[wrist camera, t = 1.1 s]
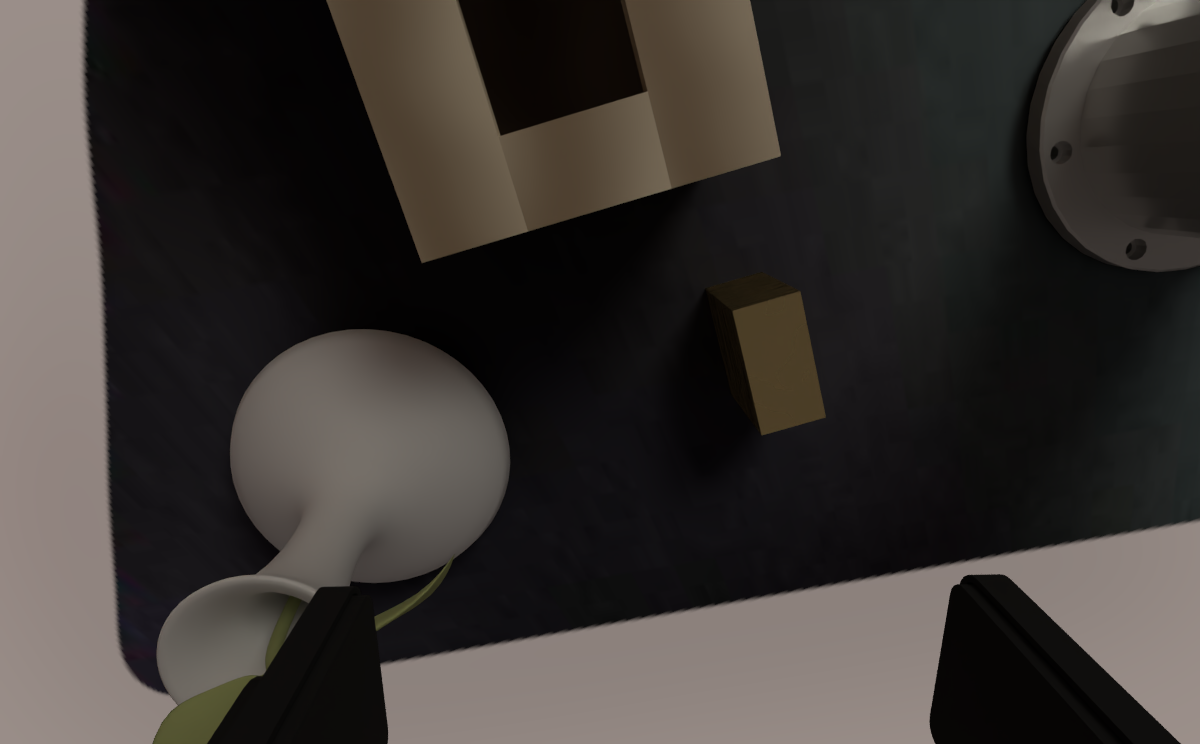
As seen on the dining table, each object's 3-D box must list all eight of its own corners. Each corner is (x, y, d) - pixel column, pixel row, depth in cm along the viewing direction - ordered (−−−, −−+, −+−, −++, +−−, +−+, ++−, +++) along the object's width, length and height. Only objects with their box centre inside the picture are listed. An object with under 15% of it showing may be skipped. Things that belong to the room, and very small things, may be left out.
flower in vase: (341, 595, 32) (-215, 1838, 8) (191, 395, 29) (-1504, 1541, 5) (587, 474, 31) (747, 1455, 8) (463, 254, 28) (44, 785, 4)
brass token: (761, 271, 29) (800, 291, 24) (784, 378, 30) (825, 417, 26) (705, 288, 29) (732, 310, 24) (731, 394, 30) (761, 435, 26)
